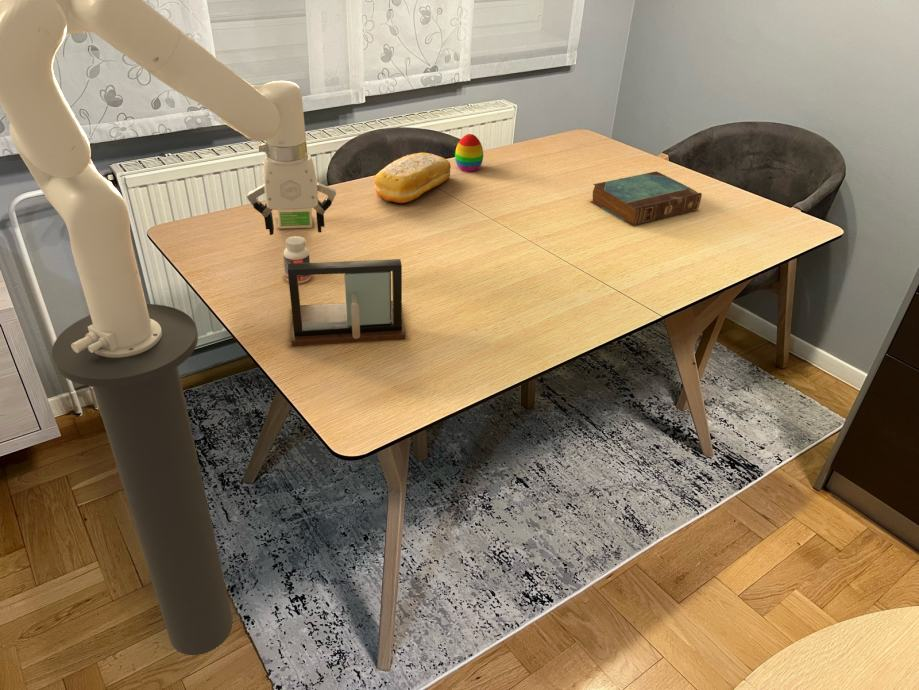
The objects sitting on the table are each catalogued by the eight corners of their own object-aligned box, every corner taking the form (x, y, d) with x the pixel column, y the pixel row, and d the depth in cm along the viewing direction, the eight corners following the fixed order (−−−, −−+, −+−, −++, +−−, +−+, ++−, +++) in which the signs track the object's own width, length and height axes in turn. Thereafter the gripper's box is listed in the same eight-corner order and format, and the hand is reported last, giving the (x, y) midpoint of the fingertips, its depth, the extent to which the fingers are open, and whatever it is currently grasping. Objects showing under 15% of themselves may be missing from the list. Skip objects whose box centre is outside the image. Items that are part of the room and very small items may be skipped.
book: (633, 226, 184) (637, 208, 181) (589, 201, 196) (592, 183, 194) (698, 211, 194) (702, 193, 191) (652, 187, 206) (655, 170, 204)
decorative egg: (461, 161, 217) (462, 128, 212) (486, 166, 215) (488, 132, 209) (450, 170, 211) (451, 136, 205) (476, 175, 208) (478, 141, 203)
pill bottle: (293, 286, 152) (290, 248, 147) (281, 276, 155) (277, 239, 150) (315, 279, 155) (312, 241, 150) (302, 269, 158) (299, 232, 153)
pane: (393, 341, 132) (392, 289, 126) (348, 344, 131) (346, 291, 125) (389, 321, 138) (389, 270, 132) (347, 323, 137) (344, 272, 130)
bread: (365, 200, 191) (364, 171, 186) (414, 168, 210) (414, 141, 206) (409, 211, 186) (410, 181, 181) (456, 178, 206) (457, 150, 201)
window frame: (405, 339, 138) (405, 268, 129) (292, 346, 134) (284, 273, 126) (398, 305, 148) (398, 237, 139) (292, 310, 145) (286, 241, 136)
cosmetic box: (278, 229, 174) (271, 166, 165) (278, 217, 179) (272, 156, 171) (314, 227, 176) (309, 165, 167) (313, 216, 181) (308, 155, 172)
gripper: (239, 158, 135) (251, 241, 145) (333, 155, 138) (339, 237, 148) (241, 144, 141) (253, 224, 151) (332, 141, 144) (337, 221, 154)
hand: (295, 230), depth 149 cm, fingers open, 9 cm apart
